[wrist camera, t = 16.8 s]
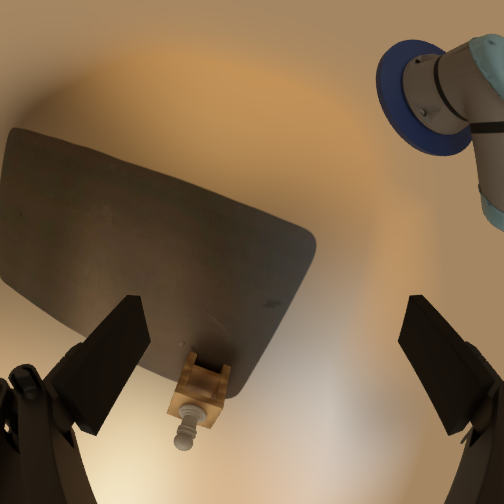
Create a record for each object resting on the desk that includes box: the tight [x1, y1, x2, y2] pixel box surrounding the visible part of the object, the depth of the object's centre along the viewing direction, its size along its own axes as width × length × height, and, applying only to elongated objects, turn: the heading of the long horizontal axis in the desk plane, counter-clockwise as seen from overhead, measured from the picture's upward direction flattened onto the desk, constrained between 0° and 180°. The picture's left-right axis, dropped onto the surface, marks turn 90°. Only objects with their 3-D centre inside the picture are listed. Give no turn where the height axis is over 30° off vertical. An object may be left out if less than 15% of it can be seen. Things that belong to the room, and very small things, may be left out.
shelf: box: [167, 351, 231, 429], centre depth 49 cm, size 9×8×12 cm
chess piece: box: [174, 404, 207, 451], centre depth 39 cm, size 5×5×9 cm
